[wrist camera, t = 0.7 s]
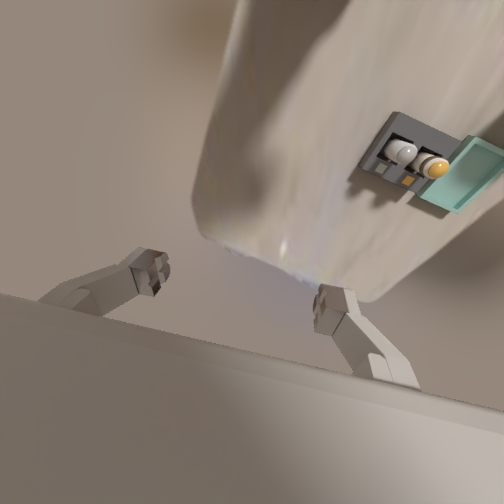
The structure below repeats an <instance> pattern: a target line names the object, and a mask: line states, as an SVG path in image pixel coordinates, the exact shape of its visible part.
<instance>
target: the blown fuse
mask: <svg viewBox="0 0 504 504" xmlns="http://www.w3.org/2000/svg"><path fill="white" fill-rule="evenodd" d="M407 166H408V167H410V168H412V169H413V170H415V171H417V172H419V173H421V174H422V175H424V176H425V177H428V178H430V179H436V178H439V177H442V176H443V175H445V174H446V173H447V171H448V169H449V163H448V161H447V160H445V159H443V158H441V157H438V156H434V155H431V154H428V153H426V152H423V151H418V152H417V155H416V157H415V158H414V159H413V160H412V161H411V162H410V163H408V164H407Z"/></svg>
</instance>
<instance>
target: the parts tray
mask: <svg viewBox="0 0 504 504" xmlns="http://www.w3.org/2000/svg"><path fill="white" fill-rule="evenodd" d="M447 161H448V163H449V169H448V171H447V173H446V174H445V175H443V176H442V177H439V178H436V179H429V180H428V181H427V182H426V183H425V184H424V186H423V187H422V188H421V189H420V190H419V191H418V192H417V193H416V195H417V196H419V197H420V198H422V199H424V200H426V201H429V202H431V203H433V204H435V205H437V206H440V207H442V208H444V209H446V210H448V211H451V212H453V213H455V214H458V213H459V212H460V211H462V210H463V209H464V208H465V207H466V206H467V205H468V204H469V203H470V202H471V201H472V200H474V199H475V198H476V197H477V196H478V195H479V194H480V193H481V192H482V191H483V190H485V189H486V188H487V187H488V186H489V185H490V184H491V183H492V182H493V181H494V180H495V179H497V178H498V177H499V176H500V175H501V174H502V173H503V172H504V150H503V149H501V148H499V147H497V146H495V145H493V144H490V143H488V142H486V141H484V140H482V139H480V138H478V137H476V136H470V135H468V136H467V137H466V138H465V139H464V141H463V142H462V143H461V144H460V145H459V147H458V148H457V149H456V150H455V151H454V152H453V153H452V154H451V155H450V157H449V158H448V159H447Z"/></svg>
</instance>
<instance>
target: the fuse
mask: <svg viewBox="0 0 504 504" xmlns="http://www.w3.org/2000/svg"><path fill="white" fill-rule="evenodd" d="M380 153H381V154H382V155H384V156H386V157H387V158H389V159H391V160H392V161H394V162H396V163H398V164H400V165H405V164H408V163H410V162H411V161H412V160H413V159H414V158H415V157H416V155H417V148H416V146H415V145H413V144H410V143H407V142H404V141H401V140H398V139H395V138H388V140H387V141H386V143H385V144H384V146H383V147H382V149H381V150H380Z"/></svg>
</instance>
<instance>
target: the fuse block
mask: <svg viewBox="0 0 504 504" xmlns="http://www.w3.org/2000/svg"><path fill="white" fill-rule="evenodd" d="M392 133H394V134H396V135H398V136H400V137H402V138H404V139H407V141H406V142H407V143H410V144H413V145H415V146H416V148H417V152H418V151H419V149H420V148H421V147H424V148H426V149H428V150H430V151H432V152H434V154H433V155H434V156H438V157H441V158H443V159H445V160H447V159H448V158H449V157H450V155H451V154H452V153H453V152H454V151H455V150H456V149H457V148H458V147H459V145H460V144H461V143H462V141H460V140H457V139H455V138H453V137H451V136H449V135H447V134H445V133H443V132H441V131H439V130H437V129H435V128H432V127H430V126H428V125H426V124H424V123H422V122H420V121H418V120H416V119H414V118H412V117H409V116H407V115H405V114H403V113H401V112H393V113H392V115H391V116H390V118H389V119H388V121H387V122H386V124H385V125H384V127H383V128H382V130H381V131H380V133H379V134H378V136H377V137H376V139H375V140H374V142H373V144H372V145H371V147H370V148H369V150H368V151H367V153H366V154H365V156H364V157H363V159H362V160H361V162H360V163H359V166H360V167H361V168H362V169H364V170H366V171H368V172H370V173H372V174H375V175H377V176H379V177H381V178H383V179H386V180H388V181H390V182H392V183H394V184H397V185H399V186H401V187H403V188H405V189H408V190H410V191H412V192H414V193H417V192H418V191H419V190H420V189H421V188H422V187H423V186H424V184H425V183H426V182H427V181H428V180H429V179H430V178H428V177H425V176H424V175H422V174H421V173H419V172H418V173H417V174H414V173H412V172H410V171H408V170H406V169H404V168H405V167H406V166H407V164H405V165H400V164H398V163H396V162H394V161H391V162H388V161H386V160H384V159H382V158H380V157H378V156H377V154H378V153H379V151H380V150H381V149H382V147H383V146H384V144H385V143H386V141H387V140H388V138H389V137H390V136H391V134H392Z"/></svg>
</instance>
